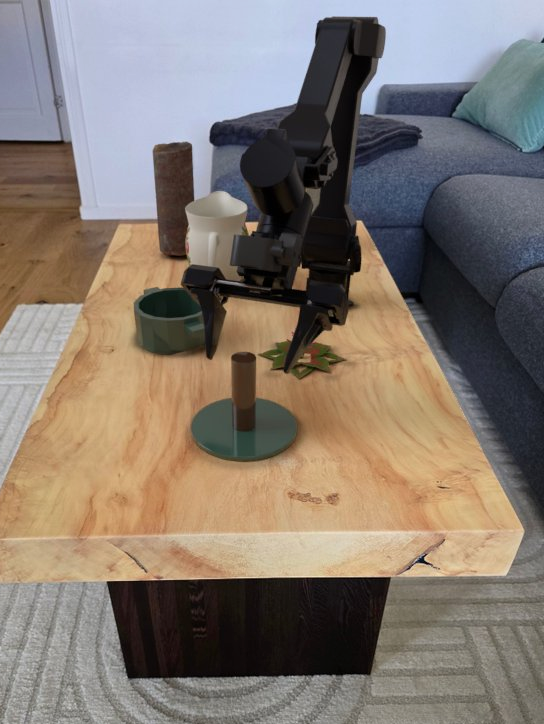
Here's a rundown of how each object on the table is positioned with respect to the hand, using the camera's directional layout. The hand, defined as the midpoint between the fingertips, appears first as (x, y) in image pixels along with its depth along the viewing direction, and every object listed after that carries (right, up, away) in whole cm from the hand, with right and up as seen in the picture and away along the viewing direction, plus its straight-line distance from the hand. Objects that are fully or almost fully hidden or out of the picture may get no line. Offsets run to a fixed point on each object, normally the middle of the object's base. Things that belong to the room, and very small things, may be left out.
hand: (246, 365), depth 71 cm
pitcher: (-5, +19, +41) cm, 45 cm away
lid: (0, -7, +4) cm, 8 cm away
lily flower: (+8, +3, +19) cm, 20 cm away
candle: (-13, +29, +53) cm, 62 cm away
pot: (-11, +8, +25) cm, 28 cm away
